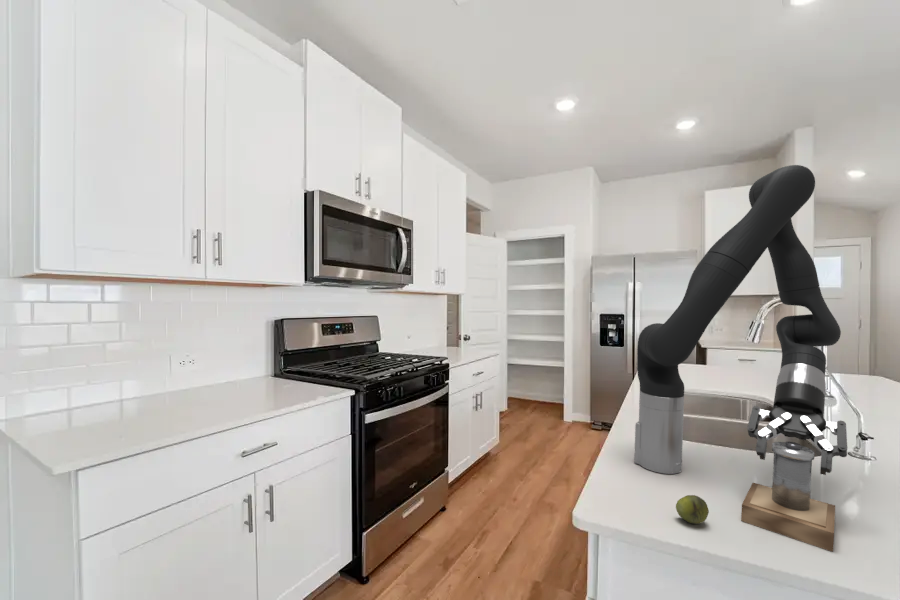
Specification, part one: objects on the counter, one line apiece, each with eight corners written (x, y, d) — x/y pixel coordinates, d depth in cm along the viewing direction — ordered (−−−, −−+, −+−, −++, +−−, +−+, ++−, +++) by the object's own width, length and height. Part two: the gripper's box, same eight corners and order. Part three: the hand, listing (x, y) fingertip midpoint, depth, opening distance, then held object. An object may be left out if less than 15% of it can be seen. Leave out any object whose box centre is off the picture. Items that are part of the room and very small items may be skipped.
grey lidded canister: (767, 502, 73) (770, 443, 73) (771, 491, 77) (774, 435, 77) (810, 516, 69) (814, 453, 69) (812, 503, 73) (815, 443, 73)
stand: (741, 520, 73) (741, 502, 73) (752, 497, 82) (752, 481, 81) (833, 551, 65) (834, 531, 64) (834, 521, 73) (835, 504, 73)
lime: (671, 519, 73) (672, 491, 73) (690, 513, 75) (691, 486, 75) (695, 532, 69) (696, 503, 69) (714, 526, 71) (715, 498, 71)
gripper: (754, 374, 85) (741, 443, 77) (849, 387, 75) (846, 467, 67) (757, 395, 89) (745, 462, 81) (848, 410, 79) (845, 488, 71)
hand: (791, 464), depth 74 cm, fingers open, 8 cm apart
